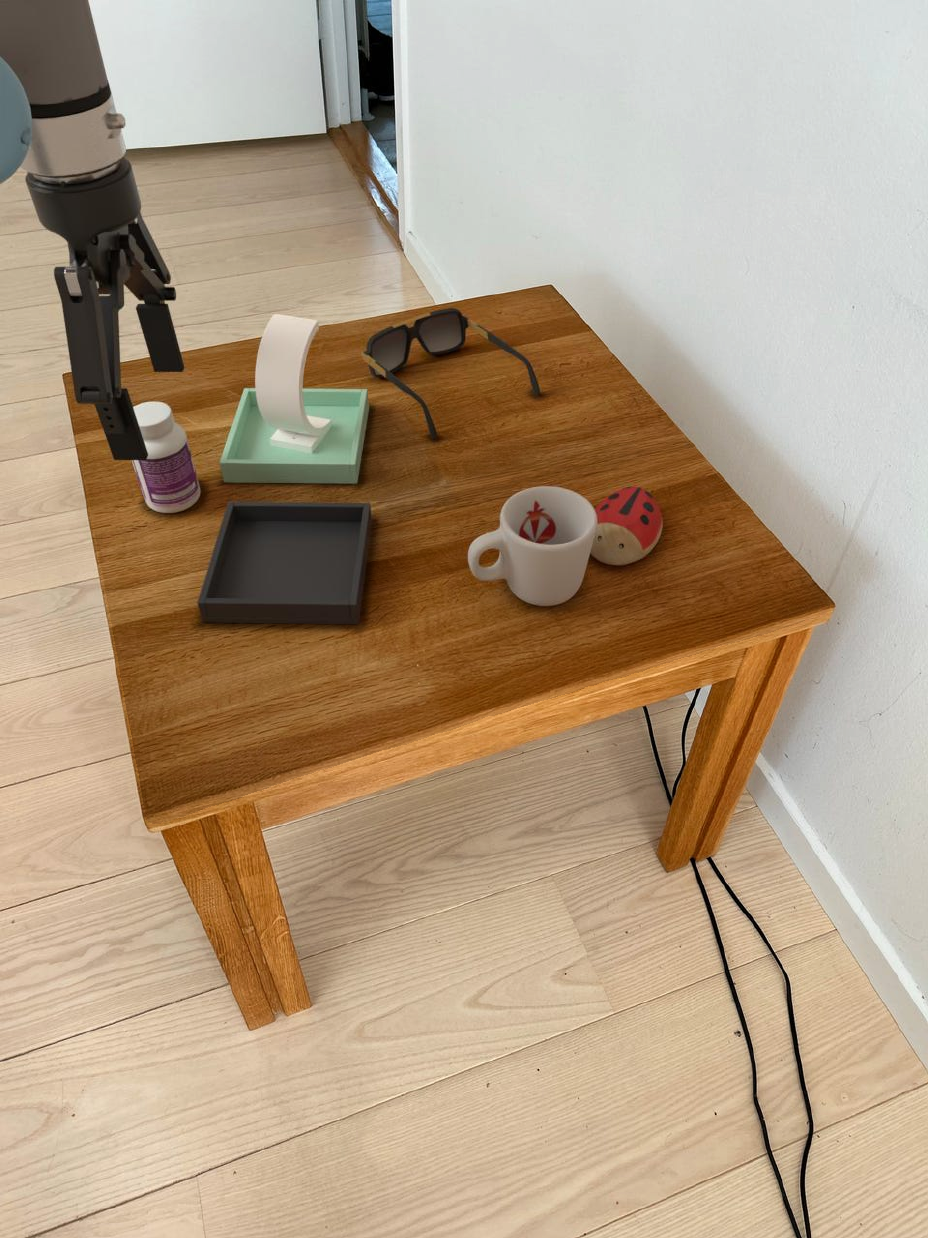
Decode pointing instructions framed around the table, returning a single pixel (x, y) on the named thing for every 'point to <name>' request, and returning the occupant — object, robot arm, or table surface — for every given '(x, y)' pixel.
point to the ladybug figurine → (626, 526)
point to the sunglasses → (427, 347)
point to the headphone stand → (287, 383)
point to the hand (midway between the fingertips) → (151, 411)
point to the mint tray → (263, 463)
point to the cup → (539, 544)
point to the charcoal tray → (288, 563)
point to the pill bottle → (165, 461)
